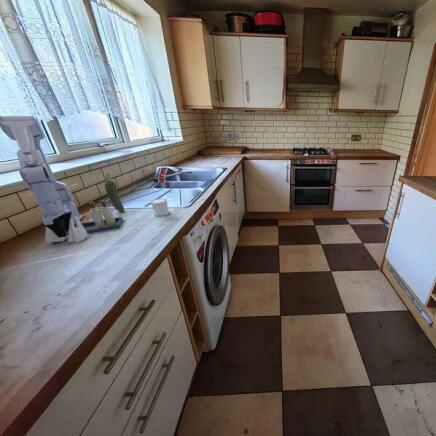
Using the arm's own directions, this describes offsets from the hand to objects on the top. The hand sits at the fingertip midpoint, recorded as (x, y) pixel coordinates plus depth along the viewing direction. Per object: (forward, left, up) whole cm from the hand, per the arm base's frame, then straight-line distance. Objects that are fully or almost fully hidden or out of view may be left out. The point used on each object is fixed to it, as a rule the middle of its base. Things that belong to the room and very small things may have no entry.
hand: (65, 233), depth 86 cm
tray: (-8, +4, -3) cm, 10 cm away
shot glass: (-13, +32, -4) cm, 34 cm away
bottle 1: (-8, +9, -3) cm, 12 cm away
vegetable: (-24, +13, -4) cm, 27 cm away
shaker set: (0, 0, -4) cm, 4 cm away
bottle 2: (-8, +12, -3) cm, 15 cm away
